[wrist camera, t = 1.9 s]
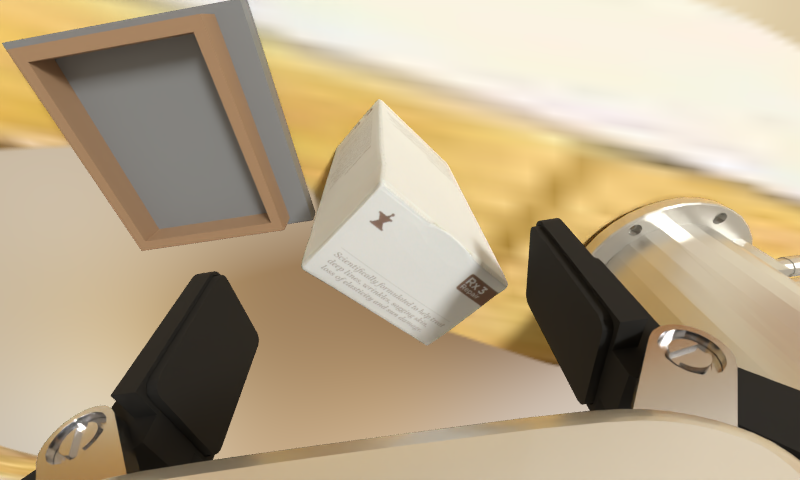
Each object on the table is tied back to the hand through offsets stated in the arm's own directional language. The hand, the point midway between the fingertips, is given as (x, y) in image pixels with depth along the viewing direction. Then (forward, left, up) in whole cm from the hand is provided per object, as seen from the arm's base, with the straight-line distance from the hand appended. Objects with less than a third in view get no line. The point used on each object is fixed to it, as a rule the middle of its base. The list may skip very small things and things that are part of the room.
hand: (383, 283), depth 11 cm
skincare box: (-1, 0, -13) cm, 13 cm away
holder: (+11, -3, -13) cm, 17 cm away
